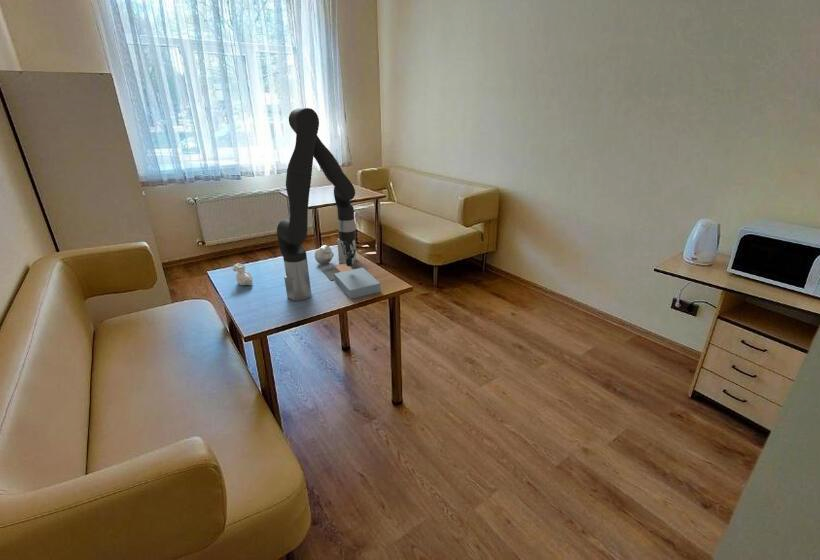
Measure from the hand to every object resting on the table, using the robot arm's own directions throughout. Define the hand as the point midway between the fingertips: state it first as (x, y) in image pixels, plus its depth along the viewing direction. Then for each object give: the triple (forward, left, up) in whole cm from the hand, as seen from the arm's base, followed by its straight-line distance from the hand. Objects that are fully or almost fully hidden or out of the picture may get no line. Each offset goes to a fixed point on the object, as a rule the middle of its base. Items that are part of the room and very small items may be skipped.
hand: (349, 265), depth 187 cm
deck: (-2, -7, -7) cm, 11 cm away
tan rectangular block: (+3, +8, -7) cm, 11 cm away
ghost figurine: (+5, +25, -8) cm, 27 cm away
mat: (+4, +10, -7) cm, 13 cm away
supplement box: (+15, +19, -8) cm, 25 cm away
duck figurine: (-34, +34, -8) cm, 49 cm away
